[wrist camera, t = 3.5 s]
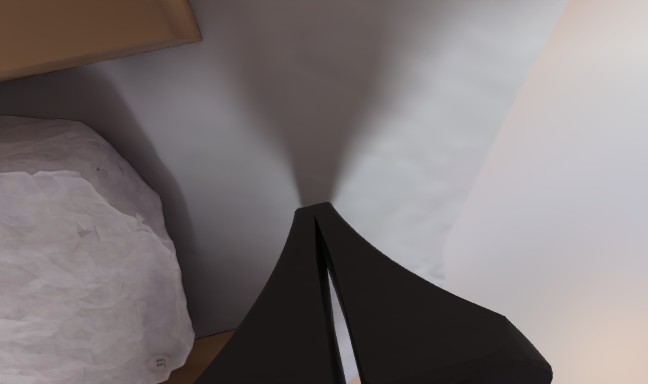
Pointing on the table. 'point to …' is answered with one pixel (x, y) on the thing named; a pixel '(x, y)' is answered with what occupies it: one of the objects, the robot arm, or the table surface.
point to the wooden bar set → (94, 46)
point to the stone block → (83, 263)
